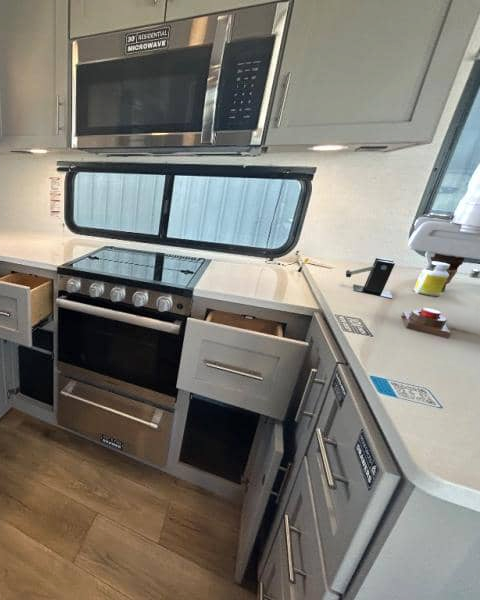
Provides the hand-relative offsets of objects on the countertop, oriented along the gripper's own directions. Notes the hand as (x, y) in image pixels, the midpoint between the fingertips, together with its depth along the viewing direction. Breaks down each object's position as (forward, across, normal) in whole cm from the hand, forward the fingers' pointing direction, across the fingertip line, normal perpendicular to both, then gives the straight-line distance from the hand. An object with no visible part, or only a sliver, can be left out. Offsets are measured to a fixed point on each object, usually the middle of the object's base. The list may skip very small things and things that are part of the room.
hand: (450, 273), depth 83 cm
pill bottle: (+15, +5, +36) cm, 39 cm away
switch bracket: (+15, -10, +23) cm, 29 cm away
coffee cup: (+15, +9, +49) cm, 52 cm away
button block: (+15, 0, 0) cm, 15 cm away
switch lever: (+8, -13, +23) cm, 28 cm away
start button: (+12, 0, 0) cm, 12 cm away
